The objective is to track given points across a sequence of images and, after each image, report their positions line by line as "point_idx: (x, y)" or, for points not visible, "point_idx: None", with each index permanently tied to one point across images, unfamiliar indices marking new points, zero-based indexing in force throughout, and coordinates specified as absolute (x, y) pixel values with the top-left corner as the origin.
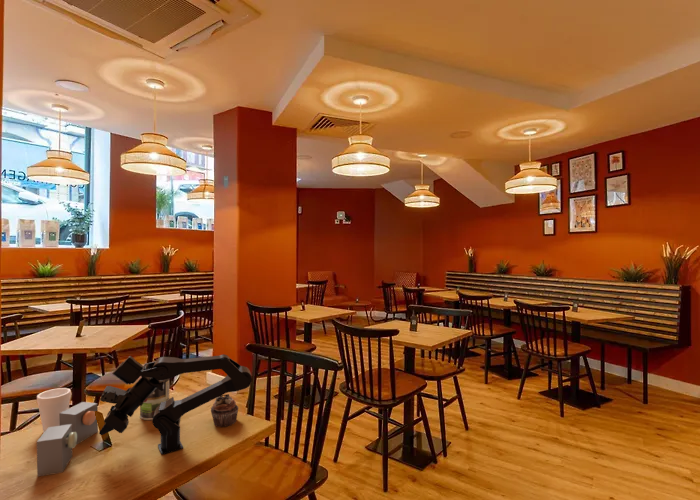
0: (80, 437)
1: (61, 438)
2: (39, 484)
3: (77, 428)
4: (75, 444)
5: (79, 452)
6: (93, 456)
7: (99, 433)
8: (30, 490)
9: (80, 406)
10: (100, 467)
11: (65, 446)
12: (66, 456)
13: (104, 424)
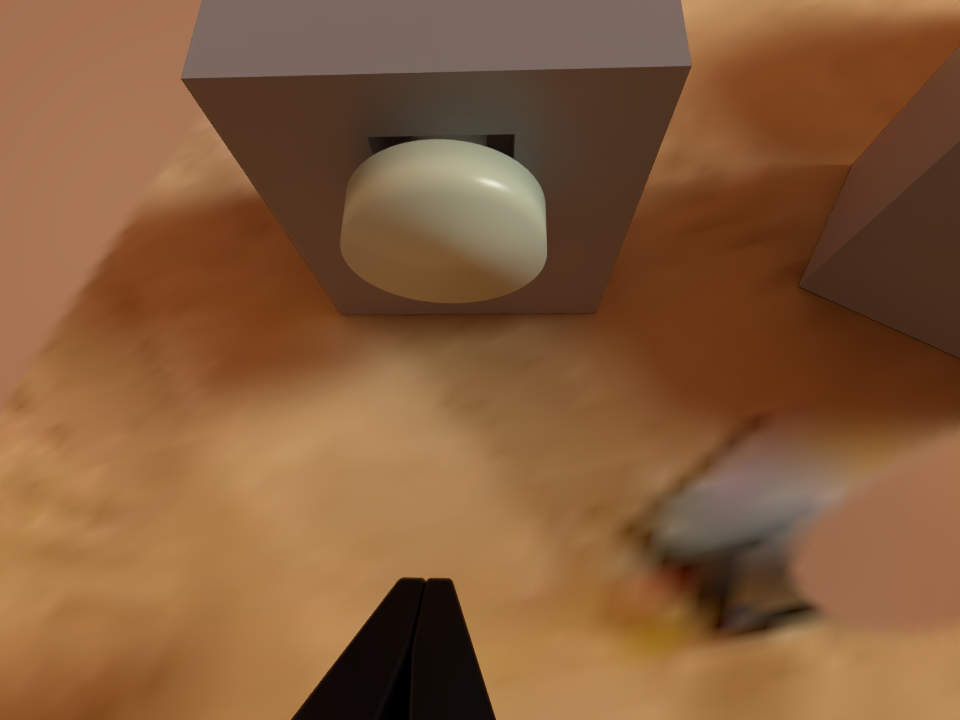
0: (883, 288)
1: (187, 78)
2: (238, 220)
3: (934, 205)
4: (471, 294)
5: (648, 351)
6: (533, 493)
7: (400, 586)
8: (187, 194)
9: None
10: (285, 611)
11: None
12: None
13: (455, 710)
